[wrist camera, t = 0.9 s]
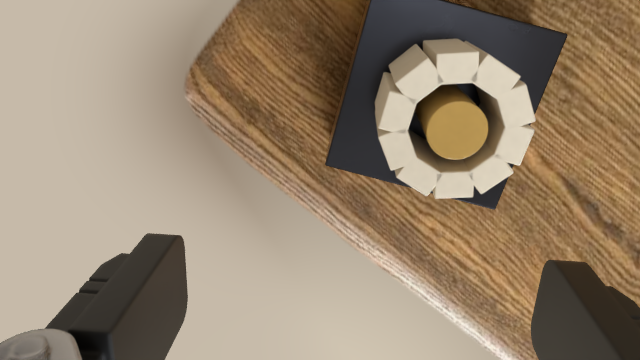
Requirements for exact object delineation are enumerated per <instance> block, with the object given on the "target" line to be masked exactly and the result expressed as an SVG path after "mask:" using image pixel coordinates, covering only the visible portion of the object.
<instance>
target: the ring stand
mask: <svg viewBox="0 0 640 360" xmlns="http://www.w3.org/2000/svg"><path fill="white" fill-rule="evenodd" d="M566 38H567V34H566V33H562V32H558V31H555V30H551V29H547V28H544V27H540V26H536V25H533V24H529V23H525V22H522V21H518V20H514V19H511V18H507V17H503V16H500V15H496V14H493V13H489V12H485V11H482V10H478V9H474V8H471V7H467V6H463V5H460V4H456V3H452V2H449V1H445V0H367V2H366V6H365V9H364V13H363V17H362V21H361V24H360V28H359V32H358V35H357V39H356V43H355V46H354V50H353V54H352V57H351V61H350V65H349V68H348V72H347V76H346V79H345V83H344V87H343V90H342V94H341V98H340V101H339V105H338V109H337V112H336V116H335V120H334V123H333V127H332V131H331V134H330V139H329V145H328V151H327V157H326V163H325V165H326V166H330V167H334V168H337V169H341V170H345V171H349V172H353V173H356V174H360V175H364V176H368V177H372V178H376V179H379V180H383V181H387V182H391V183H395V184H398V185H402V186H406V187H410V188H412V187H411V186H409V185H407V184H406V183H404V182H403V181H401V180H400V179H398V178H397V177H396V174H395V170H392V171H391V170H390V168H389V165H388V162H387V160H386V157H385V154H384V152H383V149H382V146H381V144H380V141H379V138H378V132H377V124H376V117H375V110H376V109H375V100H376V96H377V93H378V90H379V86H380V83H381V80H382V76H383V73H384V72H387V73H391V71H390V68H389V64H391V63H392V62H393V61H394V60H396V59H397V58H398V57H399V56H401V55H402V54H403V53H404V52H406V51H407V50H408V49H409V48H411V47H412V46H413V45H414V44H417V45H418V46H419V47H420V49H421V50H422V51H423V41H424V40H440V39H459V40H461V41H463V42H465V41H467V42H469V43H471V44H473V45H474V46H476V47H478V48H479V49H481V50H483V51H485V52H486V53H488V54H490V55H491V56H492V57H494V58H495V59H497V60H498V61H500V62H501V63H503V64H504V65H506V66H507V67H508V68H510V69H511V70H513V71H514V72H516V73H517V74H519V75H520V76H521V77H520V79H519V80H520V81H522V82H524V83H525V84H526V85H527V89H528V93H529V96H530V100H531V104H532V108H533V111H534V115H535V112H536V110H537V107H538V105H539V103H540V100H541V98H542V95H543V93H544V91H545V88H546V86H547V83H548V81H549V79H550V76H551V74H552V71H553V69H554V67H555V64H556V62H557V59H558V57H559V55H560V52H561V50H562V47H563V45H564V43H565V40H566ZM479 105H480V100H479V96H478V93H477V89H476V86H475V84H473V83H463V84H443V85H440V86H439V87H438V88H436V89H435V90H434V91H432V92H431V93H430V94H428V95H427V96H426V97H424V98H423V99H422V100H420V101H419V102H418V103H417V104H416V107H415V110H414V113H413V117H412V120H411V123H410V126H409V130H411V131H412V132H414V133H415V134H417V135H419V136H420V137H422V138H423V139H425V140H426V141H428V143H429V145H430V147H431V148H432V150H433V151H434V152H435V153H436V154H438V155H439V156H441V157H443V158H446V159H451V160H459V159H464V158H467V157H469V156H471V155H473V154H474V153H476V152H477V151H478V150H479V149H480V148H481V147H482V146H483V144H484V142H485V140H486V138H487V135H488V122H487V119H486V116H485V114H484V113H483V112H482V110H481V109H480V108H479ZM530 124H531V123H529V125H530ZM508 164H509V166H510V167H511V168H513V165H514V164H511V163H508ZM508 177H509V176H508ZM508 177H507V178H505V179H504V180H502V181H501V182H499V183H498V184H496V185H495V186H493V187H492V188H490V189H489V190H487V191H486V192H484V193H483V194H480V193H479V191H478V190H477V189H476V187H475V186H474V192H473V197H467V198H452V199H456V200H459V201H463V202H467V203H471V204H475V205H479V206H482V207H486V208H490V209H495V208H496V206H497V204H498V201H499V199H500V196H501V194H502V192H503V189H504V187H505V184H506V182H507V180H508ZM430 193H433V191H431V192H430Z"/></svg>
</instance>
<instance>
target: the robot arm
mask: <svg viewBox="0 0 640 360" xmlns="http://www.w3.org/2000/svg"><path fill="white" fill-rule="evenodd" d="M187 298H188V295H187V280H186V263H185V247H184V241H183V238H182V237H181V236H180V235H164V234H150V233H149V234H146V235H145V236H144V237H143V238H142V240H141V241H140V242H139V243H138V245H137V246H136V247H135V248H134V249H133V251H132V252H131V253H130V254H123V253H121V254H119V255H118V256H116V257H114V258H112V259H111V260H109V261H107V262H105V263H104V264H102V265H101V266H100V267H99V268H98V269H97V270H96V272H95V273H94V274H93V275H92V276H91V277H90V278H89V281H87V282H86V283H85V284H84V285H83V286H82V287H81V288H80V290H79V293H76V294H75V295H74V296H73V297H72V298H71V300H70V301H69V302H68V303H67V304H66V305H65V306H64V307H63V309H62V310H61V311H60V312H59V313H58V314H57V315H56V317H55V318H54V319H53V320H52V321H51V322H50V323H49V324H48V325H47V327H46V328H45V329H38V330H32V331H28V332H24V333H21V334H18V335H15V336H13V337H11V338H9V339H7V340H5V341H3V342H1V343H0V360H165V358H166V356H167V353H168V352H169V350H170V348H171V346H172V344H173V342H174V340H175V338H176V336H177V334H178V332H179V330H180V328H181V326H182V324H183V321H184V318H185V314H186V309H187ZM531 337H532V343H533V347H534V350H535V352H536V354H537V356H538V358H539V360H640V308H639V307H638V306H637V304H636V303H635V302H634V301H633V300H631V299H630V298H628V297H627V296H625V295H624V294H622V293H621V292H619V291H618V290H616V289H615V288H613V287H611V286H605V285H604V283H603V282H602V281H601V280H600V278H599V277H598V276H597V275H596V273H595V272H594V271H593V270H592V268H591V267H590V266H589V265H588V264H587V263H585V262H576V261H560V260H548V261H547V262H546V263H545V265H544V267H543V271H542V275H541V280H540V284H539V289H538V294H537V298H536V303H535V307H534V312H533V317H532V322H531Z"/></svg>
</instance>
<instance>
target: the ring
mask: <svg viewBox="0 0 640 360" xmlns="http://www.w3.org/2000/svg"><path fill="white" fill-rule="evenodd" d="M389 68H390V71H391V73H387V72H384V73H383V76H382V80H381V83H380V86H379V90H378V93H377V96H376V100H375V109H376V110H375V117H376V124H377V132H378V138H379V141H380V144H381V146H382V149H383V152H384V154H385V157H386V160H387V162H388V165H389V168H390V170H391V171H392V170H395V174H396V177H397V178H398V179H400V180H401V181H403V182H404V183H406V184H407V185H409V186H411V187H412V188H414V189H415V190H417V191H419V192H420V193H422V194H423V195H425V196H428V195H429V193H430V192H431V191H433V194H434V197H435V198H436V199H438V198H467V197H473V192H474V186H475V187H476V189H477V190H478V191H479V193H480V194H483V193H484V192H486V191H487V190H489V189H490V188H492V187H493V186H495V185H496V184H498V183H499V182H501V181H502V180H504V179H505V178H507V177H508V176H510V175H511V174H513V173H514V172H513V170H512V168H511V167H510V166H509V164H508V163H511V164H515V165H520V164H521V162H522V159H523V157H524V155H525V152H526V150H527V147H528V145H529V143H530V140H531V138H532V136H533V133H534V129H533V128H532V127H531V126H530V125H529V123H532V122H535V121H536V119H535V115H534V111H533V108H532V104H531V100H530V96H529V93H528V89H527V85H526V84H525V83H524V82H522V81H520V80H519V79H520V77H521V76H520V75H519V74H517V73H516V72H514V71H513V70H511V69H510V68H508V67H507V66H506V65H504V64H503V63H501V62H500V61H498V60H497V59H495V58H494V57H492V56H491V55H490V54H488V53H486V52H485V51H483V50H481V49H479V48H478V47H476V46H474V45H473V44H471V43H469V42H467V41H465V42H463V41H461V40H459V39H440V40H424V41H423V51H422V50H421V49H420V47H419V46H418V45H417V44H414V45H413V46H412V47H411V48H409V49H408V50H407V51H406V52H404V53H403V54H402V55H401V56H399V57H398V58H397V59H396V60H394V61H393V62H392V63H391V64H389ZM463 83H473V84H475V86H476V89H477V93H478V96H479V100H480V105H479V108H480V109H481V110H482V112H483V113H484V114H485V116H486V119H487V122H488V135H487V138H486V140H485V142H484V144H483V146H482V147H481V148H480V149H479V150H478V151H477V152H476V153H474V154H473V155H471V156H469V157H467V158H464V159H459V160H451V159H446V158H443V157H441V156H439V155H438V154H436V153H435V152H434V151H433V150H432V148H431V147H430V145H429V143H428V141H426V140H425V139H423V138H422V137H420V136H419V135H417V134H415V133H414V132H412V131H411V130H409V126H410V123H411V120H412V117H413V113H414V110H415V107H416V104H417V103H418V102H419V101H420V100H422V99H423V98H424V97H426V96H427V95H428V94H430V93H431V92H432V91H434V90H435V89H436V88H438V87H439V86H440V85H443V84H463Z"/></svg>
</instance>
